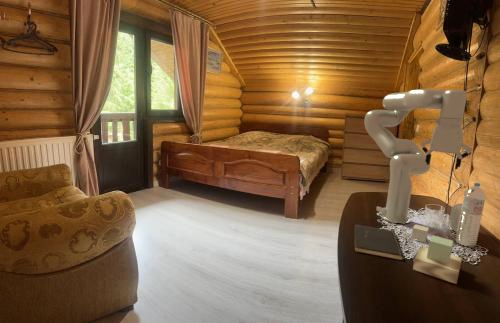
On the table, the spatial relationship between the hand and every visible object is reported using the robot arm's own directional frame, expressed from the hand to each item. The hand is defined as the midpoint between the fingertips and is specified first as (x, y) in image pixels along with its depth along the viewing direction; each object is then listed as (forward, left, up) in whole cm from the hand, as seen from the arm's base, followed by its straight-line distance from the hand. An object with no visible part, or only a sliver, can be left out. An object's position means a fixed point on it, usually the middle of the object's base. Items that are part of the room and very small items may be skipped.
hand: (441, 166), depth 120 cm
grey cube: (-3, -5, -30) cm, 31 cm away
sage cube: (+6, -28, -26) cm, 39 cm away
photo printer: (+9, +20, -30) cm, 38 cm away
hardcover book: (-15, -21, -31) cm, 41 cm away
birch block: (+6, -28, -30) cm, 41 cm away
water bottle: (+12, +4, -30) cm, 33 cm away
